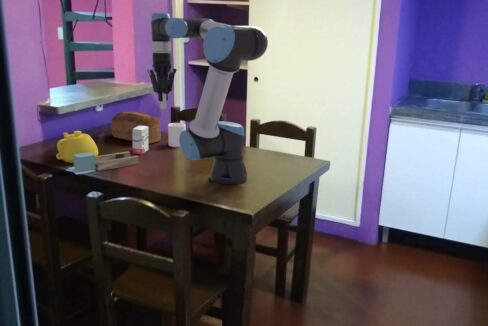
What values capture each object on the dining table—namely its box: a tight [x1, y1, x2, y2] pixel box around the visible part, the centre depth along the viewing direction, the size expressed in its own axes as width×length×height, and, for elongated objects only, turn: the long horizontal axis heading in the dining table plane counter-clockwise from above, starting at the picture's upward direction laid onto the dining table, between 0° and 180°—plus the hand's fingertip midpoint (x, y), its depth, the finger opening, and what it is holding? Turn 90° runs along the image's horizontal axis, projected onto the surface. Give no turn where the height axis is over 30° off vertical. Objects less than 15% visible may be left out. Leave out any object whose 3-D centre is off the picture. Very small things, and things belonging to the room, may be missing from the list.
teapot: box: [56, 130, 99, 164], centre depth 220 cm, size 20×19×13 cm
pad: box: [68, 166, 96, 175], centre depth 206 cm, size 10×8×1 cm
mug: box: [167, 122, 186, 148], centre depth 249 cm, size 9×12×11 cm
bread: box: [110, 111, 162, 145], centre depth 255 cm, size 12×28×14 cm, turn 59°
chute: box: [95, 151, 140, 172], centre depth 214 cm, size 10×18×4 cm, turn 128°
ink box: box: [132, 126, 149, 155], centre depth 234 cm, size 9×5×12 cm, turn 168°
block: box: [73, 152, 96, 172], centre depth 206 cm, size 6×7×6 cm
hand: (163, 108), depth 210 cm, fingers closed
